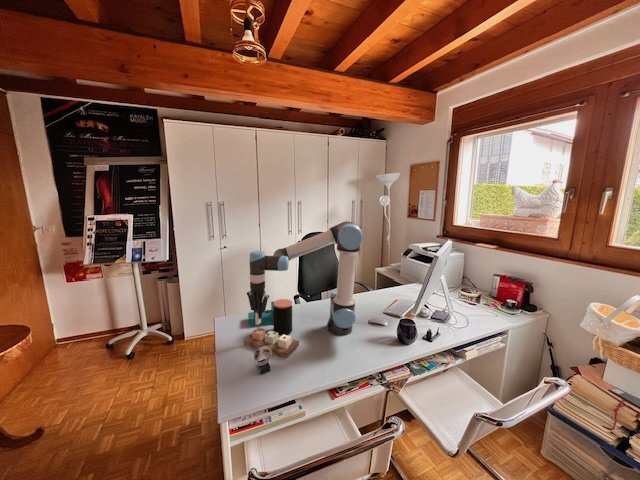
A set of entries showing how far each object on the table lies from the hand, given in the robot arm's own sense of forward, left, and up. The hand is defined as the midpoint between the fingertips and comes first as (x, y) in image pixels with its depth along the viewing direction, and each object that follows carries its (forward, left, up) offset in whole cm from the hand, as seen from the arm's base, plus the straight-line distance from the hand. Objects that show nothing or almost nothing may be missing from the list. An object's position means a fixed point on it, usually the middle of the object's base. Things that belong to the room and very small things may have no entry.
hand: (258, 323), depth 139 cm
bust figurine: (-16, +17, -11) cm, 26 cm away
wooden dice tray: (-8, 0, -11) cm, 14 cm away
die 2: (-8, 0, -8) cm, 12 cm away
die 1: (0, 0, -8) cm, 8 cm away
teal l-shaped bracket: (+11, -19, -11) cm, 25 cm away
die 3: (-16, 0, -8) cm, 18 cm away
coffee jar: (-6, -14, -11) cm, 19 cm away
